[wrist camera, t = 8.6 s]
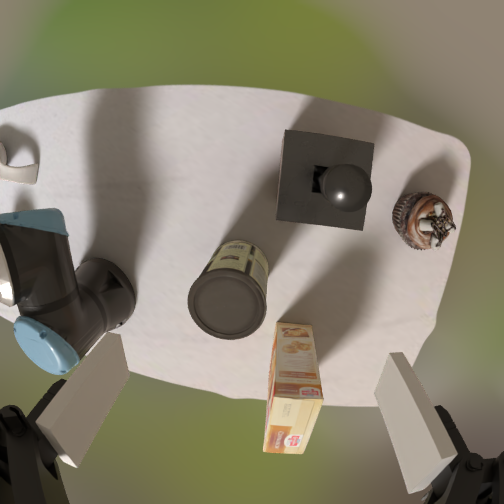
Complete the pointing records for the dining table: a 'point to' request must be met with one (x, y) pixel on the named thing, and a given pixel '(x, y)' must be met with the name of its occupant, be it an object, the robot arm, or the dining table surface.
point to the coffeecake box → (292, 390)
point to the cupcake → (423, 220)
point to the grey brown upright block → (301, 178)
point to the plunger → (343, 186)
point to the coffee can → (231, 291)
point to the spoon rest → (16, 170)
